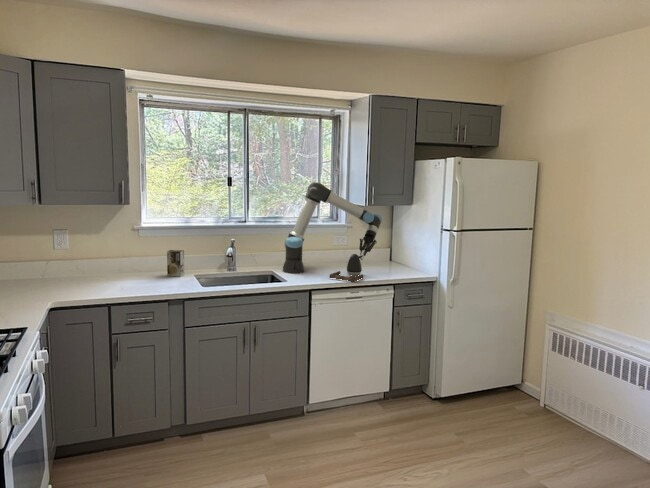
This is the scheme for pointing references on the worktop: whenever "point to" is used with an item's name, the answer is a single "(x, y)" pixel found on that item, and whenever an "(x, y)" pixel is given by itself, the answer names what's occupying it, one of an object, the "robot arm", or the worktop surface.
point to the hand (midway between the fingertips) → (361, 258)
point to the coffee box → (175, 263)
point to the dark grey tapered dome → (354, 265)
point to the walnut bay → (345, 277)
